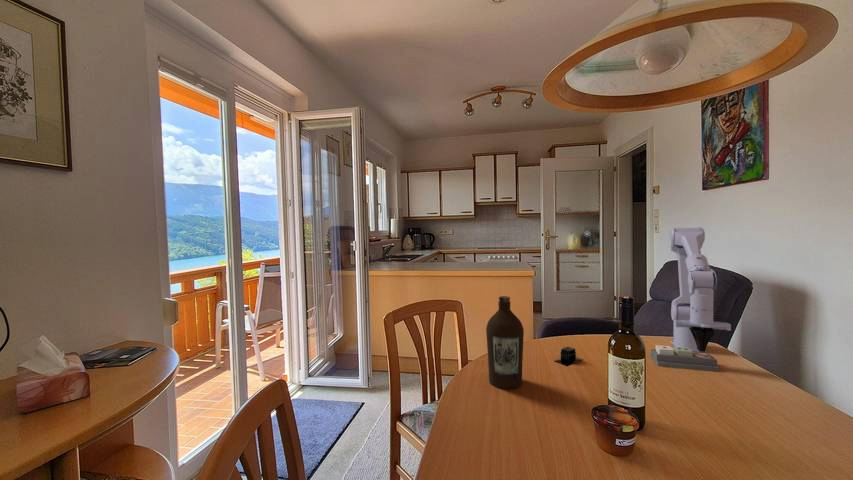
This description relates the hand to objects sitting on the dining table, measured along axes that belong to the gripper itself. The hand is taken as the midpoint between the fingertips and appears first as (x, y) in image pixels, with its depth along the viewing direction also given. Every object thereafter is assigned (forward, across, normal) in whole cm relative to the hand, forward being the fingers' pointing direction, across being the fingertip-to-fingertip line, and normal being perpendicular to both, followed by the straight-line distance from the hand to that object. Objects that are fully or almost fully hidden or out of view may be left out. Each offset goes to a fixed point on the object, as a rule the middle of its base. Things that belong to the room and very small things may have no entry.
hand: (701, 350), depth 109 cm
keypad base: (+5, -5, 0) cm, 7 cm away
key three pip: (+3, 0, 0) cm, 3 cm away
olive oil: (+5, -58, -29) cm, 65 cm away
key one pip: (+2, -10, 0) cm, 10 cm away
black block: (+5, -40, -7) cm, 41 cm away
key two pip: (+2, -5, 0) cm, 5 cm away
